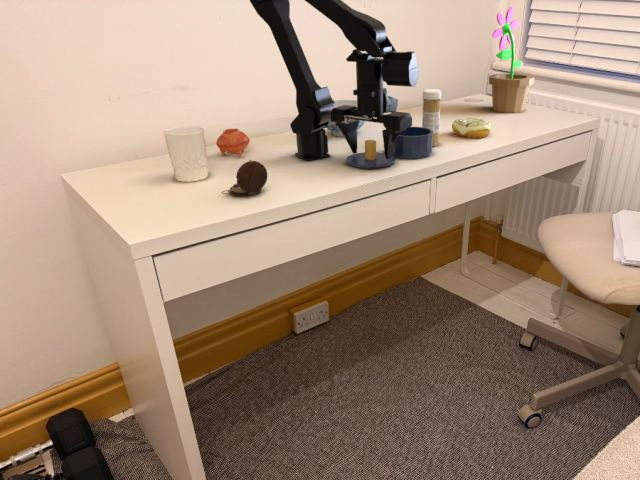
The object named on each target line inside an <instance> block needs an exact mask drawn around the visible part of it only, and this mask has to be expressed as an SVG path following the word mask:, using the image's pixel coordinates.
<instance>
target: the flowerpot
mask: <svg viewBox="0 0 640 480" xmlns="http://www.w3.org/2000/svg"><path fill="white" fill-rule="evenodd" d="M513 15H514V10H513V7H512V6H510V7H509V8H508V10H507V11H506V14H505V16H504V15H503V14H502V13H501V12H498V13H497V14H496V21H497V23H498V25H499V26H500V27H502V28H497V29H495V30H493V33H492V35H491V37H492V38H493V39H498V38H500V39H499V43H498V48H499V52H498V53H497V54H495V57H496V58H499V59H500V60H502V61H508V60H510V59H511V63H510V72H509V73H494V74H490V75H488V84H489V85H491V94H492V95H491V98H492V99H491V100H492V111H494V112H497V113H505V114H508V113H509V114H513V113H514V114H516V113H522V112H524V111H525V110H526V109H525V108H526V105H527V100H528V96H529V91H530V87H531V86H533V85H534V84H535V76H534V75H531V74H523V73H514V69H520V68H521V67H523V65H524V63H523V61H521V60H515V59H516V54H515V51H516V50H515V35H514V33H512V31H514V30H516V29H518V27H519V25H520V21H519V20H512V19H513ZM507 42H508V44H510V46H511V49H510V48H505V47H506V43H507Z"/></svg>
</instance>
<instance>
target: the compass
mask: <svg viewBox="0 0 640 480" xmlns="http://www.w3.org/2000/svg"><path fill="white" fill-rule="evenodd" d="M235 178H236V183H234V184H233V185H232V186H231V187H230V188H229V189H228V190H227V189H226V190H222V191H221V194H223V195H229V194H231V195H232V196H234V197H252V196H255V195H258V194H259V193H261V191H262V189H263V188H264V186H265V185H266V183H267V181H268V171H267V168H266V167H265V166H264V165H263V164H262V163H261V162H259V161H256V160H251V159H249V160H248V161H245V162H244V163H243V164H241V165H240V167H239V168H238V169H237V172H236V176H235Z"/></svg>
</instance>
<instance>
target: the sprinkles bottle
mask: <svg viewBox="0 0 640 480" xmlns="http://www.w3.org/2000/svg"><path fill="white" fill-rule="evenodd" d="M441 99H442V90H440V89H438V88H427V89H426V88H425V89H424V90H422V120H421V121H422V123H421V124H422V125H421V127H423V128H427V129H431V130H432V131H433V146H432V147H437V146H439V145H440V128H441V127H440V125H441Z"/></svg>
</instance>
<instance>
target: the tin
mask: <svg viewBox="0 0 640 480" xmlns="http://www.w3.org/2000/svg"><path fill="white" fill-rule="evenodd" d="M433 147H434V146H433V131H432V130H431V129H427V128H423V127H422V126H411V127H408V128H407V129H406V130H404V131H401V133H400V134H399V135H398V137H397V139H396V142H395V145H394V147H393V150H392V153H391V155H393V156H394V157H395V159H396V158H397V159H401V160H419V159H420V160H421V159H425V158H429V157H431V156H432V154H433Z"/></svg>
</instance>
